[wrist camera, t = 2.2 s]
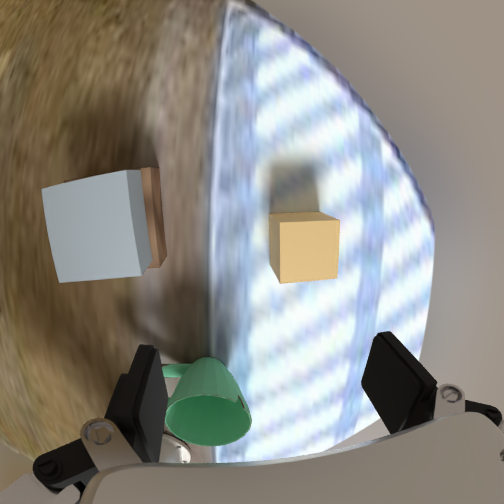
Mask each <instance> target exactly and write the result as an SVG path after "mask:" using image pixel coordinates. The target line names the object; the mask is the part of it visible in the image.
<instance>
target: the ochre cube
mask: <svg viewBox="0 0 504 504" xmlns="http://www.w3.org/2000/svg"><path fill="white" fill-rule="evenodd" d="M339 233H340V220H338V219H336V218H333V217H331V216H329V215H326V214H324V213H322V212H295V213H271V214H269V236H270V266H271V267H272V269H273V271H274V273H275V275H276V277H277V278H278V280H279V282H280V284H282V283H293V282H304V281H315V280H325V279H335V278H337V274H338V256H339Z"/></svg>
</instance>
